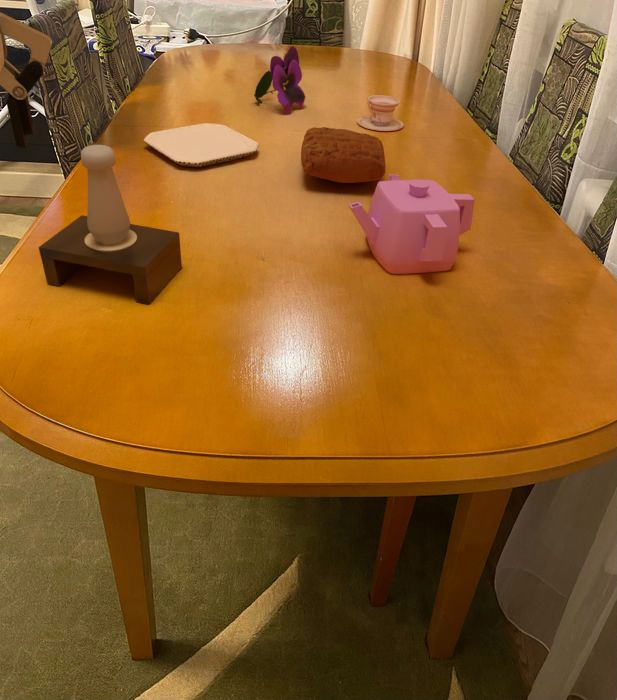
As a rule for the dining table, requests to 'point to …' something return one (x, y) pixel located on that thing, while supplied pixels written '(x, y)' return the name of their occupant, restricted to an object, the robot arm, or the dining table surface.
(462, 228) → the teakettle
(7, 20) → the robot arm
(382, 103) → the teacup
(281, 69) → the flower
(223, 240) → the dining table surface
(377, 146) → the inscribed clay slab
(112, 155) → the salt shaker
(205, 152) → the plate
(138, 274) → the shelf
